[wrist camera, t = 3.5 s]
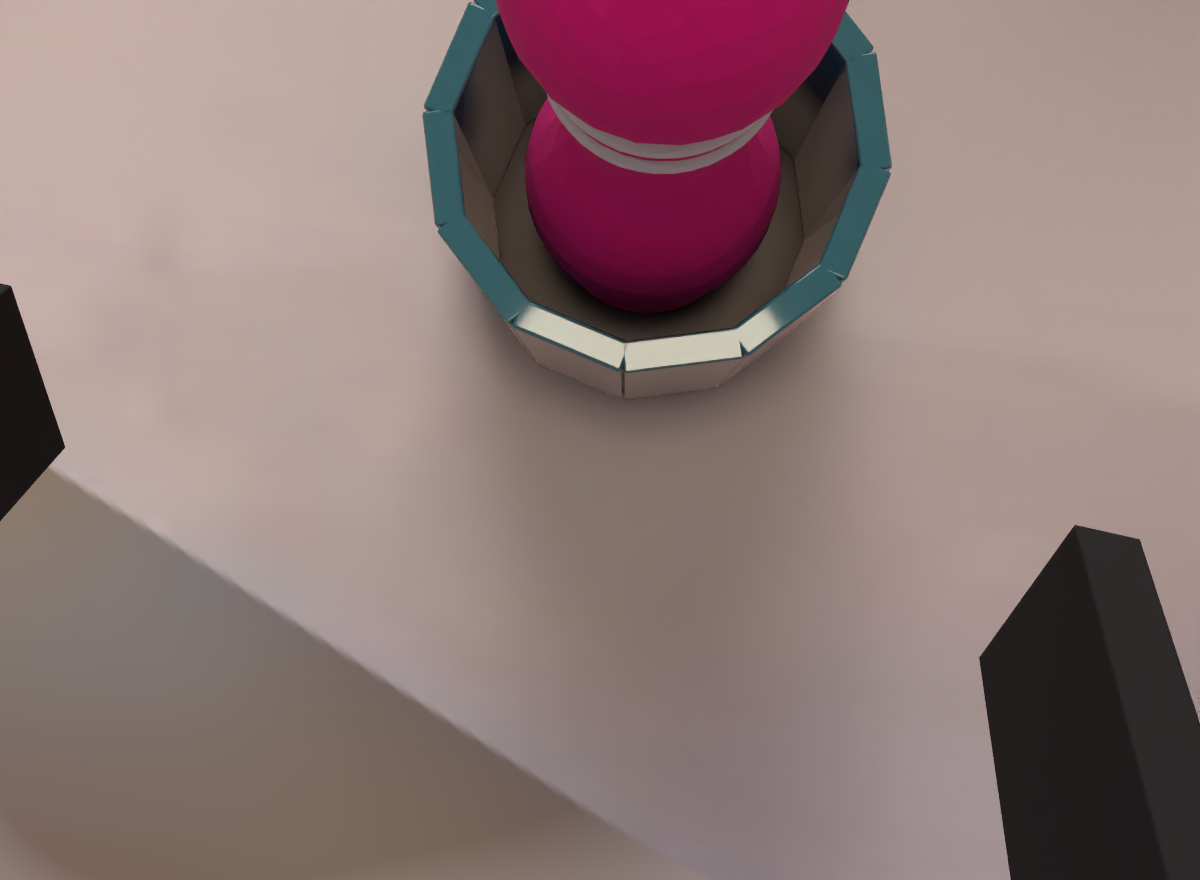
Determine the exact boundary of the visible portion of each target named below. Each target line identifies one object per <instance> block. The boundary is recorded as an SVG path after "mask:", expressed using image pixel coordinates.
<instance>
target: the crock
mask: <svg viewBox="0 0 1200 880" xmlns="http://www.w3.org/2000/svg"><path fill="white" fill-rule="evenodd" d="M873 48H874V47H873V45H872V44H871V43H870V42H869V40H868V39H867V38H866V37H865V35H864V34H863V33H862V31H861V30H860V29H859V28H858V26H857V25H856V24H855V23H854V21H853V20H852V19H851V18H850V16H849V15H848V14H847V13H846V11H845V13H844V15H843V18H842V21H841V23H840V26H839V29H838V31H837V34H836V36H835V37H834V39H833V41H832V43H831V44H830V46H829V48H828V50H827V51H826V53H825V55H824V57H823V58H822V60H821V61H820V63H819V64H818V66H817V67H816V69H815V70H814V71H813V72H812V73H811V74H810V75H809V76H808V77H807V78H806V79H805V81H804V82H803V83H802V84H801V85H800V86H799V87H798V88H797V89H796V90H795V91H794V92H793V94H792V95H791V96H790V97H789V98H788V99H787V100H786V101H785V102H784V103H783V104H782V105H780V106H778V107H777V108H775V109H774V110H773V111H772V113H771V114H770V117H771V119H772V121H773V124H774V128H775V131H776V135H777V139H778V141H779V142H780V144H781V145H782V146H783V147H784V149H785V150H786V151H787V153H788V154H789V155H790V156H791V158H792V159H793V160H794V165H795V172H796V180H797V187H798V195H799V202H800V209H801V217H802V224H803V232H804V239H805V241H804V243H803V246H802V248H801V250H800V253H799V255H798V257H797V260H796V262H795V265H794V267H793V269H792V272H791V274H790V276H789V279H788V281H787V284H786V286H785V288H784V290H783V291H782V292H781V293H779V294H778V295H777V296H775V297H774V298H773V299H771V300H770V301H769V302H767V303H766V304H765V305H763V306H762V307H761V308H759V309H758V310H757V311H755V312H754V313H753V314H751V315H750V316H749V317H747V318H746V319H745V320H743V321H742V322H741V323H739V324H738V325H737V326H735V327H734V328H729V329H721V330H713V331H705V332H697V333H689V334H681V335H673V336H665V337H657V338H649V339H641V340H633V341H625V340H622V339H620V338H617V337H615V336H613V335H610V334H608V333H605V332H603V331H601V330H598V329H596V328H593V327H591V326H589V325H586V324H584V323H581V322H579V321H577V320H574V319H572V318H570V317H567V316H565V315H562V314H560V313H558V312H555V311H553V310H550V309H548V308H546V307H543V306H541V305H538V304H536V303H534V302H531V301H529V300H528V298H527V297H526V296H525V294H524V293H523V292H522V290H521V289H520V288H519V286H518V285H517V284H516V283H515V281H514V280H513V279H512V277H511V276H510V275H509V273H508V272H507V271H506V269H505V268H504V267H503V265H502V264H501V261H500V252H499V244H498V235H497V227H496V218H495V210H494V202H493V198H494V196H495V194H496V191H497V189H498V187H499V185H500V182H501V180H502V178H503V175H504V173H505V171H506V168H507V166H508V164H509V161H510V159H511V157H512V154H513V152H514V150H515V148H516V145H517V143H518V141H519V138H520V136H521V134H522V131H523V129H524V127H525V125H527V124H528V123H529V122H531V121H532V120H533V119H535V118H536V117H537V115H538V113H539V111H540V110H541V108H542V106H543V104H544V103H545V101H546V100H547V98H548V96H547V93H546V92H545V91H544V89H543V88H542V87H541V86H540V84H539V83H538V82H537V81H536V79H535V78H534V77H533V75H532V74H531V73H530V72H529V70H528V69H527V68H526V67H525V65H524V64H523V63H522V62H521V60H520V59H519V58H518V56H517V54H516V52H515V50H514V47H513V45H512V43H511V41H510V39H509V37H508V35H507V32H506V29H505V27H504V24H503V21H502V19H501V16H500V13H499V10H498V6H497V1H496V0H474V3H472V2H470V3H469V4H468V5H467V8H466V10H465V12H464V15H463V17H462V19H461V21H460V24H459V26H458V28H457V31H456V33H455V35H454V37H453V40H452V42H451V44H450V47H449V49H448V51H447V53H446V56H445V58H444V60H443V63H442V65H441V67H440V69H439V72H438V74H437V76H436V79H435V81H434V83H433V86H432V88H431V90H430V92H429V95H428V97H427V99H426V102H425V104H424V108H425V110H426V111H425V112H423V124H424V133H425V141H426V150H427V159H428V167H429V176H430V185H431V193H432V202H433V211H434V219H435V225H436V226H437V228H438V233H439V234H440V236H441V237H442V238H443V240H444V241H445V242H446V244H447V245H448V247H449V248H450V249H451V251H452V252H453V253H454V255H455V256H456V257H457V259H458V260H459V261H460V263H461V264H462V265H463V267H464V268H465V269H466V271H467V272H468V273H469V275H470V276H471V277H472V279H473V280H474V281H475V283H476V284H477V286H478V287H479V288H480V290H481V291H482V292H483V294H484V295H485V296H486V298H487V299H488V300H489V301H490V303H491V304H492V305H493V307H494V308H495V309H496V311H497V312H498V313H499V315H500V316H501V317H502V319H503V320H504V321H505V323H506V324H507V325H508V327H509V328H510V329H511V331H512V332H513V333H514V335H515V336H516V337H517V339H518V340H519V341H520V343H521V344H522V345H523V347H524V348H525V349H526V351H527V352H528V353H529V355H530V356H531V357H532V359H533V360H534V361H536V360H537V362H538V363H539V364H540V365H542V366H544V367H547V368H549V369H552V370H554V371H556V372H559V373H561V374H563V375H566V376H568V377H571V378H573V379H575V380H578V381H580V382H582V383H585V384H587V385H590V386H592V387H594V388H597V389H599V390H601V391H604V392H606V393H609V394H611V395H613V396H616V397H618V398H621V397H622V396H623V394H624V398H625V399H632V398H640V397H648V396H656V395H664V394H672V393H680V392H688V391H696V390H704V389H713V388H715V387H716V386H717V385H719V386H720V385H722V384H723V383H725V382H726V381H727V380H728V379H730V378H731V377H732V376H734V375H735V374H736V373H738V372H739V371H740V370H742V369H743V368H744V367H746V366H747V365H748V364H750V363H751V362H752V361H754V360H755V359H756V358H758V357H759V356H760V355H762V354H763V353H764V352H766V351H767V350H768V349H770V348H771V347H772V346H774V345H775V344H776V343H778V342H779V341H780V340H782V339H783V338H784V337H786V336H787V335H788V334H790V333H791V332H792V331H793V330H794V329H795V328H796V327H797V326H798V325H799V324H801V323H802V322H803V321H804V320H805V319H806V318H807V317H808V316H809V315H811V314H812V313H813V312H814V311H815V310H816V309H817V308H818V307H819V306H820V305H822V304H823V303H824V302H825V301H826V300H827V299H828V298H829V297H830V296H831V295H833V294H834V293H835V292H836V291H837V290H838V289H839V288H840V287H841V285H842V283H843V282H844V281H846V280H847V278H848V276H849V273H850V271H851V269H852V266H853V264H854V261H855V259H856V257H857V254H858V252H859V249H860V247H861V245H862V242H863V240H864V237H865V235H866V233H867V230H868V228H869V226H870V223H871V221H872V218H873V216H874V214H875V211H876V209H877V206H878V204H879V202H880V199H881V197H882V194H883V192H884V190H885V187H886V185H887V183H888V180H889V178H890V172H889V170H890V169H891V167H892V163H891V155H890V148H889V141H888V134H887V127H886V119H885V112H884V105H883V98H882V91H881V84H880V76H879V69H878V62H877V55H876V53H871V52H872V50H873Z"/></svg>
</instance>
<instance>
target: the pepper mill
mask: <svg viewBox="0 0 1200 880" xmlns="http://www.w3.org/2000/svg"><path fill="white" fill-rule="evenodd" d="M496 1H497V6H498V10H499V13H500V16H501V19H502V21H503V24H504V27H505V29H506V32H507V35H508V37H509V39H510V41H511V43H512V45H513V47H514V50H515V52H516V54H517V56H518V58H519V59H520V60H521V62H522V63H523V64H524V65H525V67H526V68H527V69H528V70H529V72H530V73H531V74H532V75H533V77H534V78H535V79H536V81H537V82H538V83H539V84H540V86H541V87H542V88H543V89H544V91H545V92H546V93H547V96H548V98H547V100H546V101H545V103H544V104H543V106H542V108H541V110H540V111H539V113H538V115H537V118H536V120H535V123H534V125H533V128H532V130H531V133H530V137H529V142H528V147H527V152H526V156H525V175H526V190H527V197H528V205H529V211H530V214H531V216H532V219H533V222H534V225H535V228H536V231H537V233H538V235H539V237H540V239H541V241H542V242H543V244H544V246H545V248H546V249H547V251H548V252H549V253H550V255H551V256H552V257H553V258H554V260H555V261H556V262H557V264H558V265H559V266H560V267H561V268H563V269H564V270H565V271H566V272H567V273H568V274H569V275H570V276H571V277H572V278H573V279H575V280H576V281H577V282H579V284H580V285H581V286H582V287H583V288H584V289H586V290H587V291H588V292H589V293H590V294H592V295H593V296H594V297H596V298H598V299H599V300H601V301H603V302H605V303H607V304H609V305H611V306H614V307H617V308H621V309H624V310H628V311H631V312H639V313H652V312H662V311H670V310H673V309H677V308H680V307H682V306H685V305H688V304H690V303H691V302H693V301H695V300H697V299H699V298H701V297H702V296H703V295H705V294H706V293H707V292H709V291H711V290H713V289H714V288H716V287H718V286H719V285H721V284H722V283H724V282H725V281H727V280H728V279H730V278H731V277H732V276H733V275H734V274H735V273H736V272H738V271H739V270H740V269H741V268H742V267H743V266H744V265H745V264H746V263H747V261H748V260H749V259H750V258H751V256H752V255H753V254H754V253H755V251H756V250H757V249H758V247H759V245H760V243H761V242H762V240H763V238H764V236H765V235H766V233H767V230H768V228H769V225H770V222H771V219H772V216H773V214H774V211H775V207H776V203H777V198H778V193H779V188H780V183H781V155H780V146H779V142H778V139H777V135H776V131H775V128H774V124H773V121H772V119H771V117H770V114H771V113H772V111H773V110H774V109H775V108H777V107H778V106H780V105H782V104H783V103H784V102H785V101H786V100H787V99H788V98H789V97H790V96H791V95H792V94H793V92H794V91H795V90H796V89H797V88H798V87H799V86H800V85H801V84H802V83H803V82H804V81H805V79H806V78H807V77H808V76H809V75H810V74H811V73H812V72H813V71H814V70H815V69H816V67H817V66H818V64H819V63H820V61H821V60H822V58H823V57H824V55H825V53H826V51H827V50H828V48H829V46H830V44H831V43H832V41H833V39H834V37H835V36H836V34H837V31H838V29H839V26H840V23H841V21H842V18H843V15H844V13H845V10H846V8H847V5H848V2H849V0H496Z"/></svg>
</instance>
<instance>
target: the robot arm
mask: <svg viewBox="0 0 1200 880" xmlns="http://www.w3.org/2000/svg"><path fill="white" fill-rule="evenodd" d="M64 448H65V445H64V442H63V439H62V436H61V433H60V430H59V427H58V424H57V421H56V418H55V415H54V413H53V410H52V407H51V404H50V401H49V398H48V395H47V392H46V389H45V386H44V383H43V380H42V377H41V374H40V371H39V368H38V365H37V362H36V359H35V356H34V353H33V350H32V347H31V344H30V341H29V338H28V335H27V332H26V329H25V326H24V323H23V320H22V317H21V314H20V311H19V308H18V305H17V302H16V299H15V296H14V293H13V290H12V288H11V286H9V285H4V284H0V521H1V520H2V518H3V517H4V516H5V515H6V514H7V513H8V512H9V511H10V509H11V508H12V507H13V506H14V505H15V504H16V503H17V501H18V500H19V499H20V498H21V497H22V496H23V495H24V494H25V492H26V491H27V490H28V489H29V488H30V487H31V485H32V484H33V483H34V482H35V481H36V480H37V479H38V477H39V476H40V475H41V474H42V473H43V472H44V471H45V470H46V469H47V467H48V466H49V465H50V464H51V463H52V462H53V461H54V459H55V458H56V457H57V456H58V455H59V454H60V453H61V452H62V450H63V449H64ZM979 659H980V666H981V673H982V680H983V687H984V694H985V701H986V708H987V715H988V722H989V729H990V736H991V743H992V750H993V757H994V764H995V771H996V778H997V786H998V793H999V800H1000V807H1001V814H1002V821H1003V828H1004V835H1005V842H1006V849H1007V856H1008V863H1009V870H1010V877H1011V880H1200V722H1199V719H1198V716H1197V713H1196V710H1195V707H1194V704H1193V701H1192V698H1191V695H1190V692H1189V689H1188V686H1187V683H1186V680H1185V677H1184V674H1183V671H1182V668H1181V664H1180V661H1179V658H1178V655H1177V652H1176V649H1175V646H1174V643H1173V640H1172V637H1171V634H1170V631H1169V628H1168V625H1167V622H1166V619H1165V616H1164V613H1163V609H1162V606H1161V603H1160V600H1159V597H1158V594H1157V591H1156V588H1155V585H1154V582H1153V579H1152V576H1151V573H1150V570H1149V567H1148V564H1147V561H1146V558H1145V555H1144V551H1143V548H1142V545H1141V542H1140V539H1135V538H1131V537H1126V536H1122V535H1117V534H1113V533H1108V532H1104V531H1100V530H1095V529H1091V528H1086V527H1082V526H1077V525H1075V526H1074V527H1073V528H1072V530H1071V531H1070V532H1069V534H1068V535H1067V537H1066V538H1065V539H1064V541H1063V542H1062V544H1061V545H1060V546H1059V548H1058V549H1057V551H1056V552H1055V553H1054V555H1053V556H1052V557H1051V559H1050V560H1049V562H1048V563H1047V564H1046V566H1045V567H1044V569H1043V570H1042V571H1041V573H1040V574H1039V576H1038V577H1037V578H1036V580H1035V581H1034V582H1033V584H1032V585H1031V587H1030V588H1029V589H1028V591H1027V592H1026V594H1025V595H1024V596H1023V598H1022V599H1021V601H1020V602H1019V603H1018V605H1017V606H1016V607H1015V609H1014V610H1013V612H1012V613H1011V614H1010V616H1009V617H1008V619H1007V620H1006V621H1005V623H1004V624H1003V626H1002V627H1001V628H1000V630H999V631H998V632H997V634H996V635H995V637H994V638H993V639H992V641H991V642H990V644H989V645H988V646H987V648H986V649H985V651H984V652H983V653H982V655H981V656H980V657H979Z"/></svg>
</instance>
